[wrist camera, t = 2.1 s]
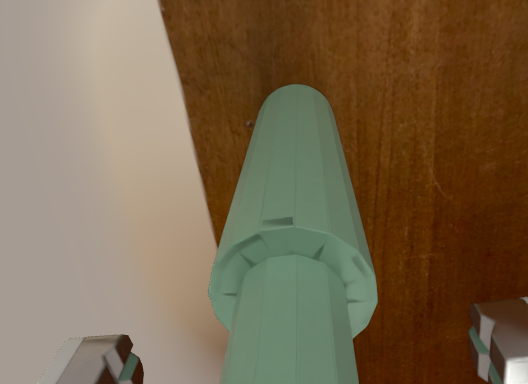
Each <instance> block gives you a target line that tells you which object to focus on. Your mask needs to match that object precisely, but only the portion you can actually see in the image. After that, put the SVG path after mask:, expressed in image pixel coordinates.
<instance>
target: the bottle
mask: <svg viewBox="0 0 528 384" xmlns="http://www.w3.org/2000/svg"><path fill="white" fill-rule="evenodd" d="M208 294H209V297H210V300H211V303H212V306H213V309H214V312H215V315H216V317H217V319H218V320H219V321H220V322H221V323H222V324H223V325H224V326H225V327H226V328H227V329H228V331H229V332H230V333H229V338H228V343H227V349H226V353H225V358H224V363H223V368H222V374H221V379H220V384H359V381H358V374H357V367H356V360H355V354H354V347H353V340H352V339H353V338H354V337H355V336H356V335H357V334H358V333H360V332H361V331H362V330H363V329H364V328H365V327H366V326H367V325H368V323H369V321H370V318H371V316H372V314H373V312H374V309H375V307H376V305H377V301H378V297H377V287H376V276H375V272H374V268H373V265H372V261H371V257H370V253H369V249H368V245H367V241H366V237H365V234H364V230H363V226H362V222H361V218H360V214H359V210H358V206H357V203H356V199H355V195H354V191H353V187H352V183H351V179H350V175H349V172H348V168H347V164H346V160H345V156H344V152H343V148H342V144H341V141H340V137H339V133H338V129H337V125H336V121H335V117H334V114H333V110H332V108H331V106H330V104H329V102H328V101H327V99H326V98H325V97H324V96H323V95H322V94H321V93H320V92H319V91H317V90H316V89H314V88H312V87H309V86H306V85H300V84H293V85H287V86H284V87H281V88H279V89H277V90H275V91H274V92H273V93H271V94H270V95H269V96H268V97H267V98H266V100H265V101H264V103H263V104H262V107H261V108H260V110H259V114H258V117H257V120H256V124H255V127H254V131H253V134H252V137H251V141H250V144H249V147H248V151H247V154H246V157H245V161H244V164H243V167H242V171H241V174H240V177H239V181H238V184H237V187H236V191H235V194H234V197H233V201H232V204H231V207H230V211H229V214H228V217H227V221H226V224H225V227H224V231H223V234H222V237H221V241H220V244H219V248H218V251H217V254H216V258H215V261H214V264H213V268H212V273H211V278H210V284H209V290H208Z"/></svg>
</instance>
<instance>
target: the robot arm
mask: <svg viewBox="0 0 528 384" xmlns="http://www.w3.org/2000/svg"><path fill="white" fill-rule="evenodd" d="M469 318H470V320H471V322H472V324H473V327H472V328H471V329H470V330H469V331H468V344H469V350H470V355H471V358H472V361H473V364H474V367H475V369H476V371H477V373H478V375H479V376H480V377H481V378H483V379H484V380H485V381H487V382H488V383H487V384H528V297H523V298H520V299H519V298H514V299H504V300H494V301H484V302H474V303H471V304H470V307H469ZM132 347H133V343H132V342H131V340H130V338H129V336H128V335H123V334H122V335H107V336H91V337H83V338H70V339H68V340H67V341H65V342H64V343H63V345H62V346H61V348H60V349H59V351H58V352H57V354H56V355H55V357H54V358H53V360H52V361H51V363H50V364H49V366H48V367H47V369H46V370H45V372H44V373H43V375H42V376H41V378H40V379H39V381H38V382H37V384H143V376H144V372H143V366H142V363H141V361H140V358H139V357H138V356H136V355H135V354H133V353H132V352H131V349H132Z"/></svg>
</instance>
